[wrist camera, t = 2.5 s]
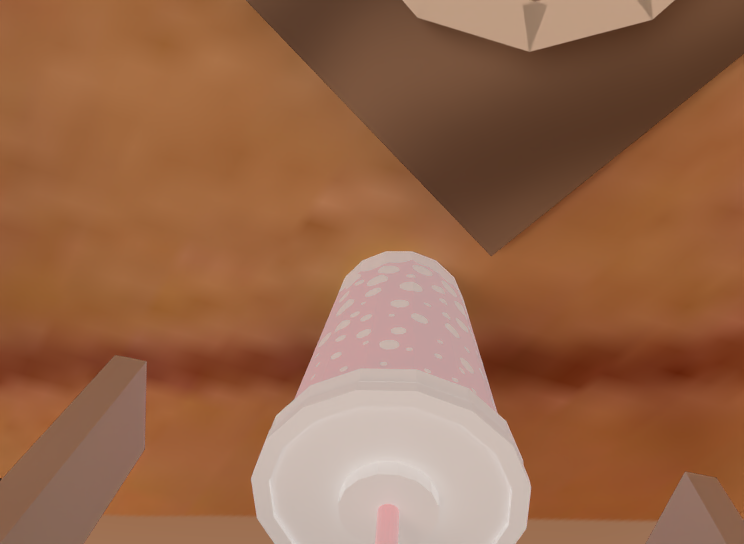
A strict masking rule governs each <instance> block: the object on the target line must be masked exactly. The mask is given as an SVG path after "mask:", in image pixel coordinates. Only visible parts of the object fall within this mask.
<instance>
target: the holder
mask: <svg viewBox="0 0 744 544" xmlns="http://www.w3.org/2000/svg"><path fill="white" fill-rule="evenodd" d="M246 1H247V2H248V3H249V4H250V5H251V6H252V7H253V8H254V9H255V10H256V11H257V12H258V13H259V14H260V16H261V17H262V18H263V19H264V20H265V21H266V22H267V23H268V24H269V25H270V26H271V27H272V28H273V29H274V30H275V31H276V32H277V33H278V34H279V35H280V36H281V37H282V38H283V40H284V41H285V42H286V43H287V44H288V45H289V46H290V47H291V48H292V49H293V50H294V51H295V52H296V53H297V54H298V55H299V56H300V57H301V58H302V59H303V60H304V61H305V62H306V64H307V65H308V66H309V67H310V68H311V69H312V70H313V71H314V72H315V73H316V74H317V75H318V76H319V77H320V78H321V79H322V80H323V81H324V82H325V83H326V84H327V85H328V86H329V88H330V89H331V90H332V91H333V92H334V93H335V94H336V95H337V96H338V97H339V98H340V99H341V100H342V101H343V102H344V103H345V104H346V105H347V106H348V107H349V108H350V109H351V110H352V112H353V113H354V114H355V115H356V116H357V117H358V118H359V119H360V120H361V121H362V122H363V123H364V124H365V125H366V126H367V127H368V128H369V129H370V130H371V131H372V132H373V133H374V134H375V136H376V137H377V138H378V139H379V140H380V141H381V142H382V143H383V144H384V145H385V146H386V147H387V148H388V149H389V150H390V151H391V152H392V153H393V154H394V155H395V156H396V157H397V158H398V160H399V161H400V162H401V163H402V164H403V165H404V166H405V167H406V168H407V169H408V170H409V171H410V172H411V173H412V174H413V175H414V176H415V177H416V178H417V179H418V180H419V181H420V182H421V184H422V185H423V186H424V187H425V188H426V189H427V190H428V191H429V192H430V193H431V194H432V195H433V196H434V197H435V198H436V199H437V200H438V201H439V202H440V203H441V204H442V205H443V206H444V208H445V209H446V210H447V211H448V212H449V213H450V214H451V215H452V216H453V217H454V218H455V219H456V220H457V221H458V222H459V223H460V224H461V225H462V226H463V227H464V228H465V229H466V230H467V232H468V233H469V234H470V235H471V236H472V237H473V238H474V239H475V240H476V241H477V242H478V243H479V244H480V245H481V246H482V247H483V248H484V249H485V250H486V251H487V252H488V253H489V255H490V256H492V255H493V254H495V253H496V252H497V251H498V250H500V249H501V248H502V247H503V246H505V245H506V244H507V243H508V242H510V241H511V240H512V239H513V238H515V237H516V236H517V235H518V234H520V233H521V232H522V231H523V230H524V229H526V228H527V227H528V226H529V225H531V224H532V223H533V222H534V221H536V220H537V219H538V218H539V217H541V216H542V215H543V214H544V213H546V212H547V211H548V210H549V209H551V208H552V207H553V206H554V205H556V204H557V203H558V202H559V201H561V200H562V199H563V198H564V197H566V196H567V195H568V194H569V193H571V192H572V191H573V190H574V189H576V188H577V187H578V186H579V185H581V184H582V183H583V182H584V181H586V180H587V179H588V178H589V177H591V176H592V175H593V174H594V173H596V172H597V171H598V170H599V169H601V168H602V167H603V166H604V165H606V164H607V163H608V162H609V161H611V160H612V159H613V158H614V157H616V156H617V155H618V154H619V153H621V152H622V151H623V150H624V149H626V148H627V147H628V146H629V145H631V144H632V143H633V142H634V141H636V140H637V139H638V138H639V137H641V136H642V135H643V134H644V133H646V132H647V131H648V130H649V129H651V128H652V127H653V126H654V125H655V124H657V123H658V122H659V121H660V120H662V119H663V118H664V117H665V116H667V115H668V114H669V113H670V112H672V111H673V110H674V109H675V108H677V107H678V106H679V105H680V104H682V103H683V102H684V101H685V100H687V99H688V98H689V97H690V96H692V95H693V94H694V93H695V92H697V91H698V90H699V89H700V88H702V87H703V86H704V85H705V84H707V83H708V82H709V81H710V80H712V79H713V78H714V77H715V76H717V75H718V74H719V73H720V72H722V71H723V70H724V69H725V68H727V67H728V66H729V65H730V64H732V63H733V62H734V61H735V60H737V59H738V58H739V57H740V56H742V55H743V54H744V0H674V1H673V2H672V3H671V4H670V5H669V6H668V7H666V8H665V9H664V10H663V11H662V12H661V13H660V14H658V15H657V16H656V17H655V18H654V19H653V20H650V21H646V22H642V23H638V24H634V25H630V26H627V27H623V28H619V29H615V30H611V31H607V32H604V33H600V34H596V35H592V36H588V37H584V38H581V39H577V40H573V41H569V42H565V43H562V44H558V45H554V46H550V47H546V48H542V49H539V50H535V51H531V52H528V51H525V50H522V49H519V48H515V47H512V46H509V45H506V44H502V43H499V42H496V41H492V40H489V39H486V38H483V37H479V36H476V35H473V34H470V33H466V32H463V31H460V30H456V29H453V28H450V27H447V26H443V25H440V24H437V23H434V22H430V21H427V20H424V19H420V18H417V17H416V15H415V14H414V13H413V12H412V11H411V10H410V8H409V7H408V6H407V5H406V4H405V3H404V2H403V0H246Z"/></svg>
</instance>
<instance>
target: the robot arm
mask: <svg viewBox="0 0 744 544" xmlns="http://www.w3.org/2000/svg"><path fill="white" fill-rule="evenodd" d="M146 368H147V361H143V360H138V359H133V358H128V357H123V356H118V355H115V356H114V357H113V358H112V359H111V360H110V361H109V362H108V363H107V364H106V366H105V367H104V368H103V369H102V370H101V371H100V372H99V373H98V374H97V375H96V377H95V378H94V379H93V380H92V381H91V382H90V383H89V384H88V385H87V386H86V387H85V389H84V390H83V391H82V392H81V393H80V394H79V395H78V396H77V397H76V398H75V400H74V401H73V402H72V403H71V404H70V405H69V406H68V407H67V408H66V409H65V410H64V412H63V413H62V414H61V415H60V416H59V417H58V418H57V419H56V420H55V421H54V422H53V424H52V425H51V426H50V427H49V428H48V429H47V430H46V431H45V432H44V433H43V435H42V436H41V437H40V438H39V439H38V440H37V441H36V442H35V443H34V444H33V445H32V447H31V448H30V449H29V450H28V451H27V452H26V453H25V454H24V455H23V456H22V458H21V459H20V460H19V461H18V462H17V463H16V464H15V465H14V466H13V467H12V468H11V470H10V471H9V472H8V473H7V474H6V475H5V476H4V477H3V478H2V479H1V478H0V544H84V543H85V541H86V539H87V538H88V536H89V535H90V533H91V532H92V530H93V529H94V527H95V526H96V524H97V522H98V521H99V519H100V518H101V516H102V515H103V513H104V512H105V510H106V509H107V507H108V505H109V504H110V502H111V501H112V499H113V498H114V496H115V495H116V493H117V491H118V490H119V488H120V487H121V485H122V484H123V482H124V481H125V479H126V478H127V476H128V474H129V473H130V471H131V470H132V468H133V467H134V465H135V464H136V462H137V461H138V459H139V457H140V456H141V454H142V453H143V451H144V450H145V418H146ZM646 544H744V520H743V519H742V517H741V516H740V514H739V512H738V511H737V509H736V508H735V506H734V505H733V503H732V501H731V500H730V498H729V497H728V495H727V493H726V492H725V490H724V489H723V487H722V486H721V484H720V482H719V481H718V479H717V478H715V477H710V476H705V475H700V474H695V473H691V472H686V471H685V473H684V474H683V476H682V478H681V480H680V482H679V484H678V485H677V487H676V489H675V491H674V493H673V494H672V496H671V498H670V500H669V502H668V504H667V505H666V507H665V509H664V511H663V513H662V514H661V516H660V518H659V520H658V522H657V523H656V525H655V527H654V529H653V531H652V533H651V534H650V536H649V538H648V540H647V542H646Z"/></svg>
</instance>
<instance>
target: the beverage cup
mask: <svg viewBox="0 0 744 544" xmlns="http://www.w3.org/2000/svg"><path fill="white" fill-rule="evenodd" d="M251 482H252V489H253V495H254V502H255V509H256V515H257V519H258V520H259V522H260V523H261V525H262V526H263V528H264V529H265V531H266V532H267V534H268V535H269V537H270V538H271V539H272V541H273V542H274V544H516V542H517V541H518V540H519V538H520V537H521V535H522V534H523V532H524V531H525V530H526V527H527V519H528V511H529V502H530V493H531V485H530V481H529V477H528V475H527V472H526V470H525V468H524V465H523V459H522V456H521V454H520V452H519V450H518V447H517V445H516V443H515V440H514V438H513V436H512V433H511V431H510V429H509V426H508V424H507V422H506V420H504V419H503V418H502V417H501V416H500V415H499V414H498V413H497V409H496V406H495V403H494V399H493V396H492V393H491V390H490V386H489V383H488V380H487V376H486V373H485V370H484V366H483V363H482V360H481V356H480V353H479V350H478V346H477V343H476V340H475V336H474V333H473V330H472V326H471V323H470V320H469V316H468V313H467V310H466V307H465V303H464V300H463V297H462V295H461V292H460V290H459V288H458V285H457V283H456V281H455V278H454V277H453V276H452V275H451V274H450V273H449V272H448V271H447V270H446V269H445V268H444V267H442V266H441V265H440V264H439V263H438V262H437V261H436V260H433V259H431V258H428V257H425V256H423V255H420V254H418V253H415V252H412V251H386V252H383V253H381V254H378V255H376V256H373V257H370V258H368V259H365V260H363V261H362V262H360V263H359V264H358V265H357V266H356V267H355V268H354V269H353V270H352V271H351V272H350V273H349V274H348V275H347V276H346V277H345V279H344V281H343V284H342V286H341V289H340V291H339V293H338V296H337V298H336V301H335V303H334V305H333V308H332V310H331V313H330V315H329V317H328V320H327V322H326V324H325V327H324V329H323V332H322V334H321V336H320V339H319V341H318V344H317V346H316V348H315V351H314V353H313V356H312V358H311V360H310V363H309V365H308V368H307V370H306V372H305V375H304V377H303V380H302V382H301V384H300V387H299V389H298V392H297V394H296V396H295V399H294V400H293V401H292V402H291V403H290V404H289V405H287V406H286V407H285V408H284V409H283V410H282V411H281V412H279V413H278V414H277V415H276V417H275V419H274V422H273V424H272V427H271V429H270V430H269V433H268V435H267V438H266V440H265V443H264V445H263V448H262V451H261V453H260V456H259V458H258V461H257V463H256V466H255V469H254V471H253V474H252V477H251Z"/></svg>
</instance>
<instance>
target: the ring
mask: <svg viewBox="0 0 744 544" xmlns="http://www.w3.org/2000/svg"><path fill="white" fill-rule="evenodd" d="M673 1H674V0H403V2H404V3H405V4H406V5H407V6H408V7H409V8H410V10H411V11H412V12H413V13H414V14H415V15H416V17H417V18H420V19H424V20H427V21H430V22H434V23H437V24H440V25H443V26H447V27H450V28H453V29H456V30H460V31H463V32H466V33H470V34H473V35H476V36H479V37H483V38H486V39H489V40H492V41H496V42H499V43H502V44H506V45H509V46H512V47H515V48H519V49H522V50H525V51H528V52H531V51H535V50H539V49H542V48H546V47H550V46H554V45H558V44H562V43H565V42H569V41H573V40H577V39H581V38H584V37H588V36H592V35H596V34H600V33H604V32H607V31H611V30H615V29H619V28H623V27H627V26H630V25H634V24H638V23H642V22H646V21H650V20H653V19H654V18H655V17H656V16H657V15H658V14H660V13H661V12H662V11H663V10H664V9H665V8H666V7H668V6H669V5H670V4H671V3H672V2H673Z"/></svg>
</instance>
